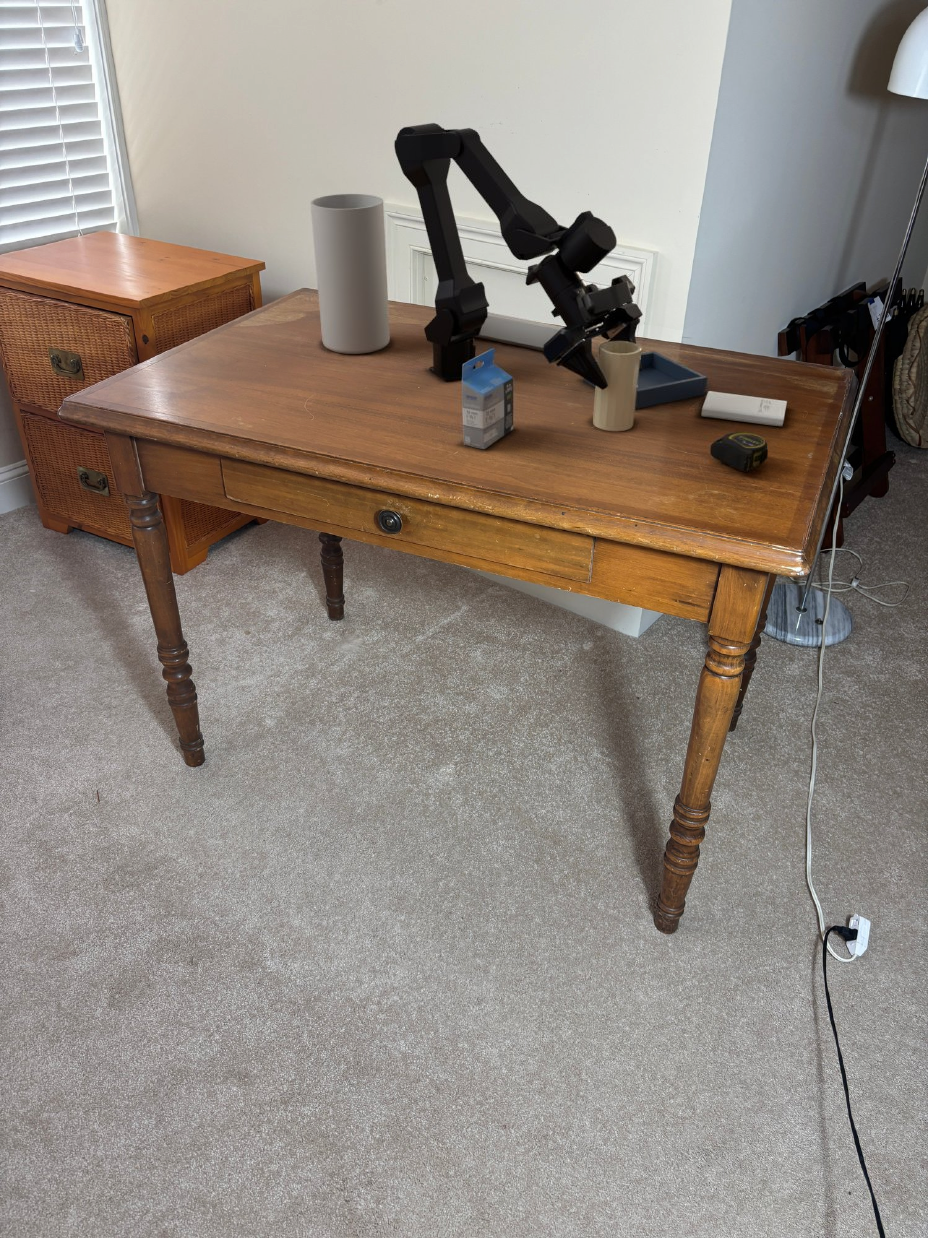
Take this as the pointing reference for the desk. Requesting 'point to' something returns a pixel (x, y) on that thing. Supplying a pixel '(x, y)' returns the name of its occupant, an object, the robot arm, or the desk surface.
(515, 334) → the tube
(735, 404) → the hard drive
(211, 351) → the desk surface
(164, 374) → the desk surface
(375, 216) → the cylinder vase
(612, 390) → the pencil cup
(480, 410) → the label tape box
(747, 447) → the tape measure
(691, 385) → the tray
